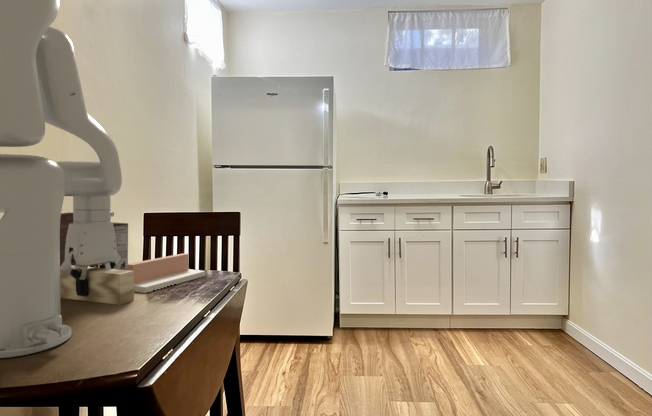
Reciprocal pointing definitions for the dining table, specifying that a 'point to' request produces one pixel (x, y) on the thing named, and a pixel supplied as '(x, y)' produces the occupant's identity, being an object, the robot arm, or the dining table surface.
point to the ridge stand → (162, 272)
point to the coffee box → (120, 245)
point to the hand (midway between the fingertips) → (93, 292)
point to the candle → (64, 233)
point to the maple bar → (101, 286)
